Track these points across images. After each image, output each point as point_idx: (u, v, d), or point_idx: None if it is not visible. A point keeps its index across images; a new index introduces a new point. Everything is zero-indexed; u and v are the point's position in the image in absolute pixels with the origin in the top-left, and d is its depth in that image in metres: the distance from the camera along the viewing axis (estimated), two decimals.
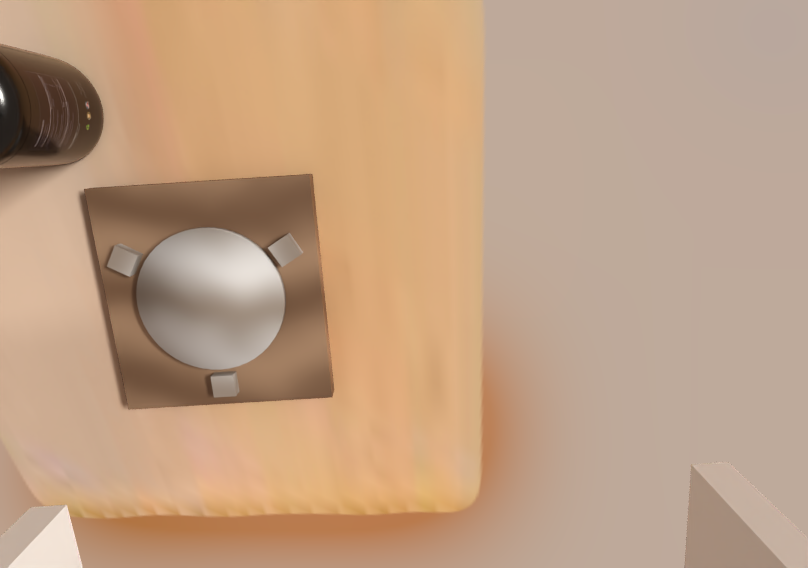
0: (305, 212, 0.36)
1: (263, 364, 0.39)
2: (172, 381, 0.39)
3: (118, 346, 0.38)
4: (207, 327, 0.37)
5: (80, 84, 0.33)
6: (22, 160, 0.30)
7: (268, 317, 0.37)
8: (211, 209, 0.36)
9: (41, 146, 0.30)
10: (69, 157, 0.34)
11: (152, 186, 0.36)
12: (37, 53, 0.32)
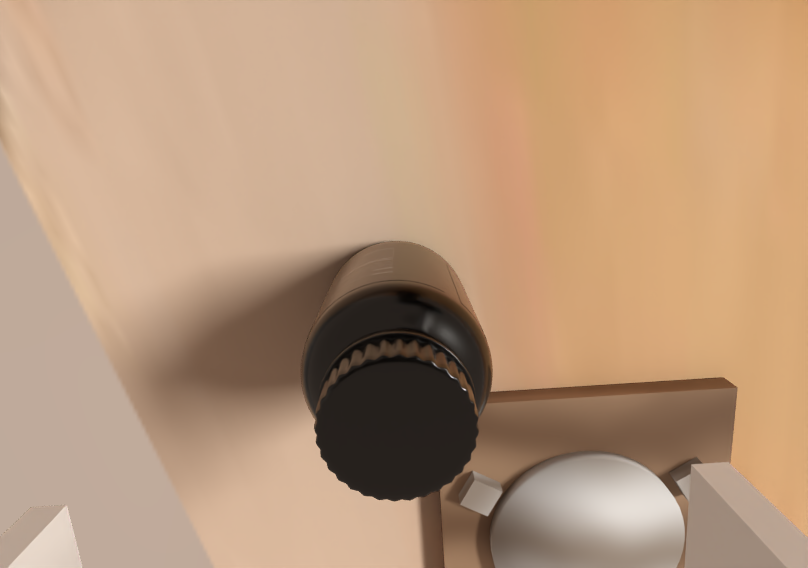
0: (723, 432, 0.27)
1: None
2: None
3: None
4: None
5: None
6: None
7: (660, 562, 0.28)
8: (599, 429, 0.27)
9: None
10: None
11: (526, 403, 0.27)
12: (422, 254, 0.23)
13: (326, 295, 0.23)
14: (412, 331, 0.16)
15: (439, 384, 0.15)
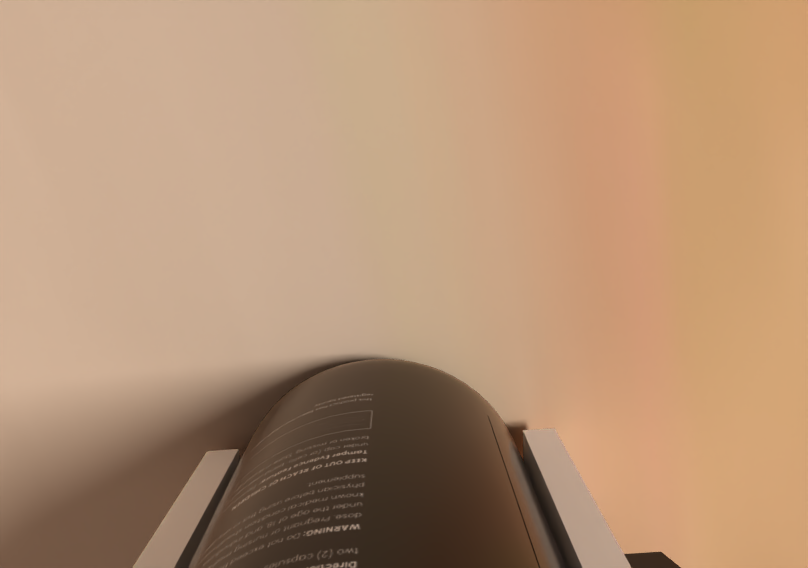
0: None
1: None
2: None
3: None
4: None
5: (526, 469, 0.11)
6: None
7: None
8: None
9: None
10: None
11: None
12: (439, 415, 0.10)
13: None
14: None
15: None
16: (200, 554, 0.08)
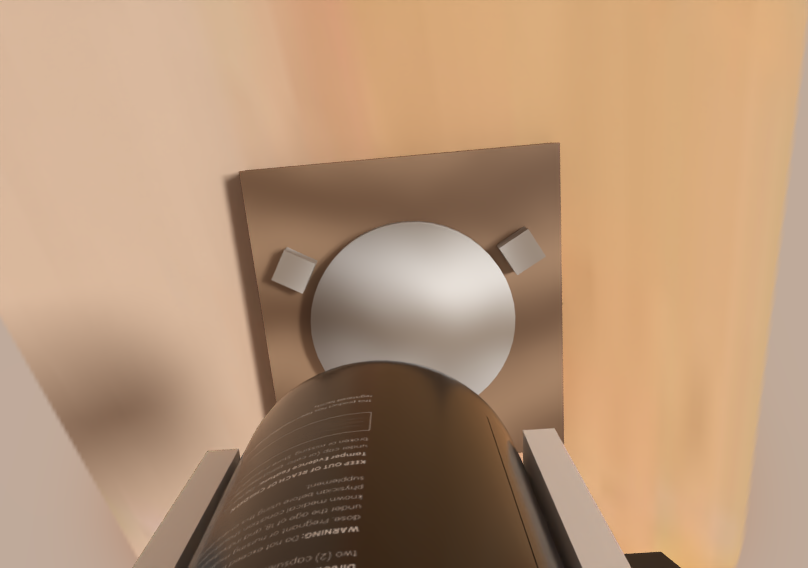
0: (549, 197, 0.26)
1: None
2: None
3: (277, 388, 0.28)
4: (406, 360, 0.27)
5: (525, 470, 0.11)
6: None
7: (492, 345, 0.27)
8: (417, 196, 0.25)
9: None
10: None
11: (335, 165, 0.25)
12: (438, 416, 0.10)
13: None
14: None
15: None
16: (199, 556, 0.08)
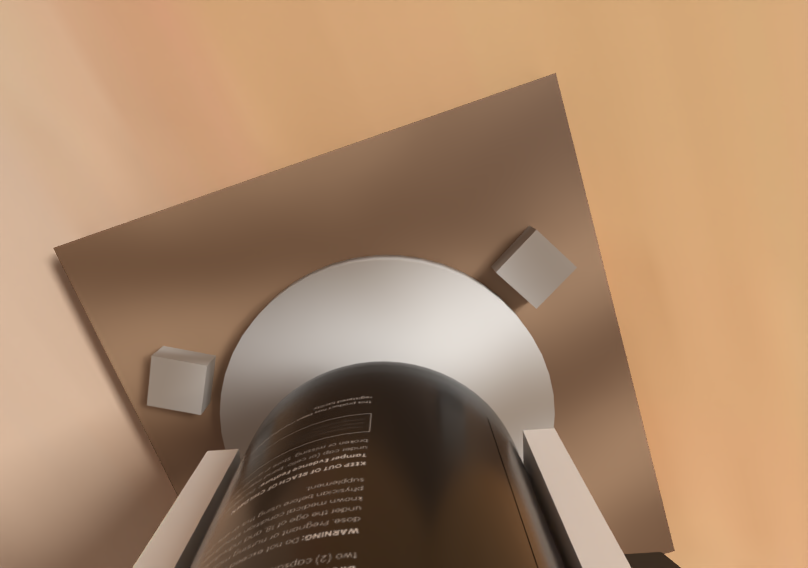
0: (560, 168, 0.15)
1: None
2: None
3: None
4: None
5: (525, 470, 0.11)
6: None
7: (523, 426, 0.16)
8: (342, 218, 0.15)
9: None
10: None
11: (199, 201, 0.15)
12: (438, 417, 0.10)
13: None
14: None
15: None
16: (199, 558, 0.08)
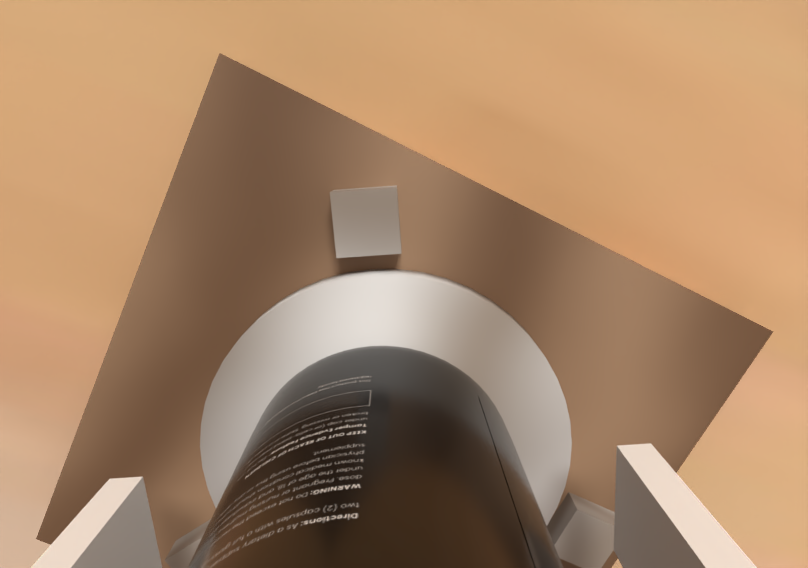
0: (306, 120, 0.13)
1: (593, 430, 0.15)
2: None
3: None
4: None
5: (513, 445, 0.12)
6: None
7: (499, 357, 0.14)
8: (192, 329, 0.14)
9: None
10: None
11: (87, 415, 0.15)
12: (432, 394, 0.11)
13: None
14: None
15: None
16: (217, 517, 0.09)
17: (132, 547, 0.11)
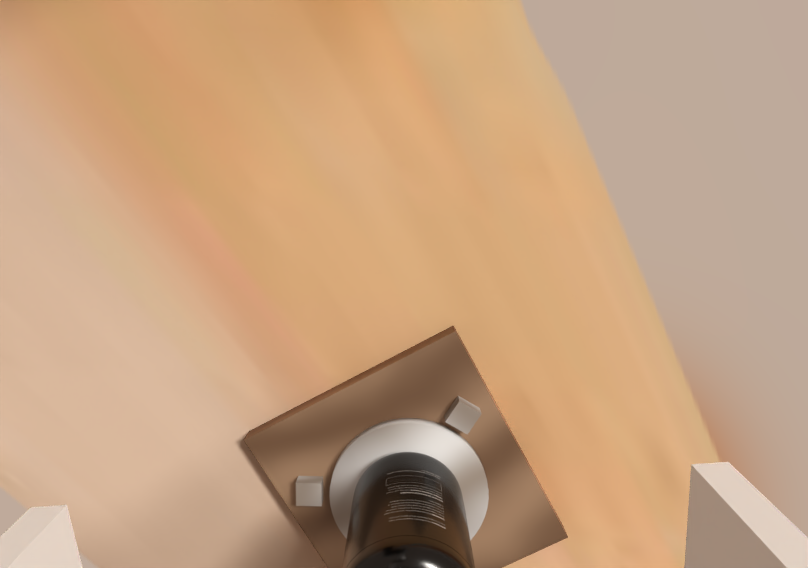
0: (466, 369, 0.33)
1: (484, 533, 0.35)
2: None
3: None
4: None
5: None
6: None
7: (473, 488, 0.34)
8: (372, 406, 0.33)
9: None
10: None
11: (306, 409, 0.33)
12: (456, 496, 0.30)
13: (380, 489, 0.29)
14: None
15: None
16: (391, 501, 0.28)
17: None
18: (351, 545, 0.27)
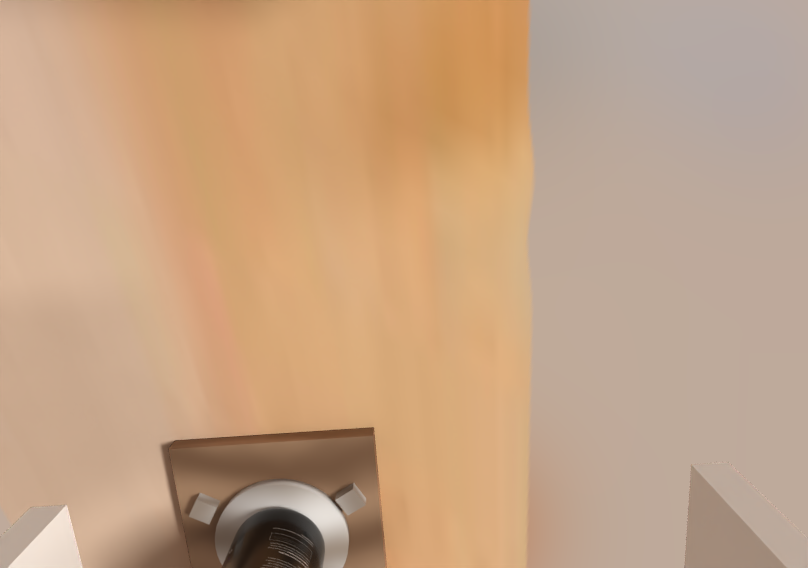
0: (368, 466, 0.40)
1: None
2: None
3: None
4: None
5: None
6: None
7: (334, 556, 0.41)
8: (283, 464, 0.40)
9: None
10: None
11: (230, 446, 0.39)
12: (319, 564, 0.37)
13: (264, 541, 0.36)
14: None
15: None
16: (269, 556, 0.34)
17: None
18: None
